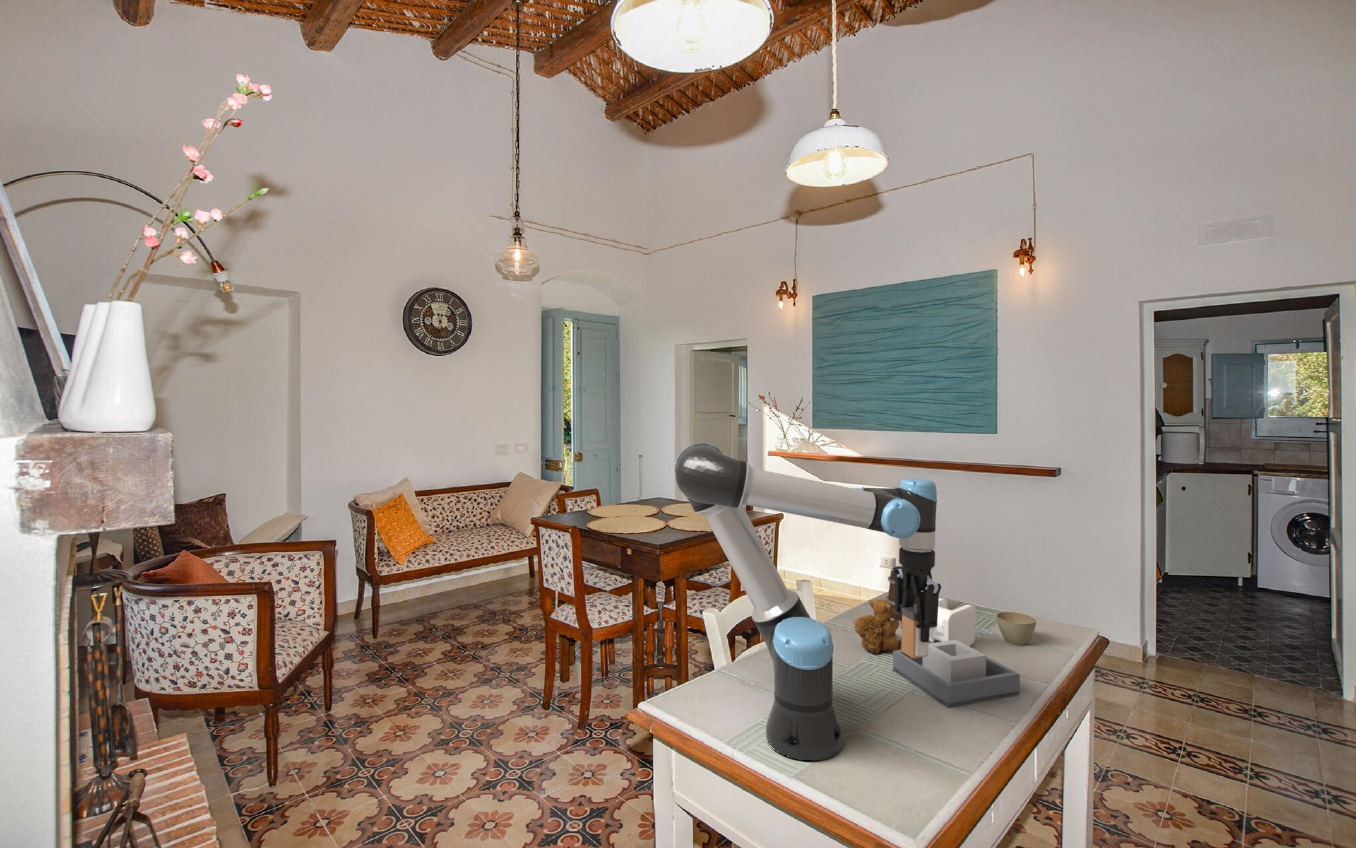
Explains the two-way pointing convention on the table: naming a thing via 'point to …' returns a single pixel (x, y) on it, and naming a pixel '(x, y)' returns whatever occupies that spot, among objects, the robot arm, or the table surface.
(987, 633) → the table surface
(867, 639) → the stuffed squirrel
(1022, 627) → the beige bowl
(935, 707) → the table surface
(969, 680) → the box
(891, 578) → the mug
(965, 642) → the cable organizer
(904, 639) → the plug
